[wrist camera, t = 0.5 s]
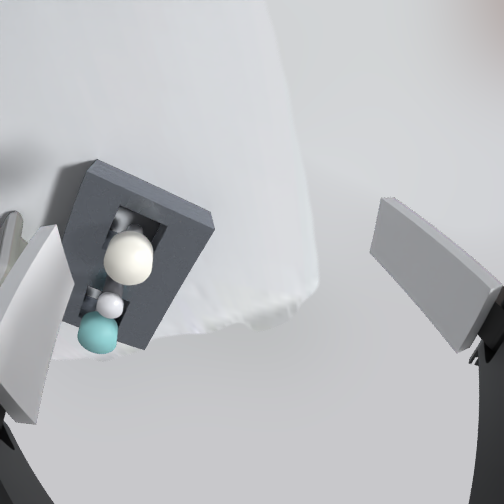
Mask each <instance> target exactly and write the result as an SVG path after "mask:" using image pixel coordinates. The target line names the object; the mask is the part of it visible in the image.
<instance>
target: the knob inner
mask: <svg viewBox="0 0 504 504" xmlns="http://www.w3.org/2000/svg"><path fill="white" fill-rule="evenodd" d="M152 262H153V247H152V244H151V242H150V241H149V240H148V239H147V238H146V237H145V236H144V235H143V229H142V227H141V226H140V225H138V224H132V225H130V226H129V227H128V228H127V231H123V232H120V233H118V234H116V235H115V236H114V237H113V238H112V239H111V240H110V242H109V245H108V248H107V251H106V254H105V257H104V268H105V270H106V272H107V274H108V275H109V277H110V278H112V279H113V280H114V281H116V282H118V283H120V284H123V285H136V284H139V283H142V282H143V281H145V280H146V279H147V278H148V277H149V275H150V273H151V270H152Z"/></svg>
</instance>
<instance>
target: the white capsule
mask: <svg viewBox="0 0 504 504" xmlns="http://www.w3.org/2000/svg"><path fill="white" fill-rule="evenodd" d="M123 289H124V285H123V284H120V283H118V282H116V281H114V280H113V279H112V278H110V277H109V275H108V274H107V277H106V281H105V284H104V288H103V292H102V294H101V295H100V296H99V298H98V301H97V305H96V308H97V311H98V312H99V313H100V314H101V315H102V316H103V317H106V318H109V319H114V318H117V317H119V316H120V315H121V314H122V311H123V305H124V303H123V300H122V295H123Z"/></svg>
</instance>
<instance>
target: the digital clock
mask: <svg viewBox="0 0 504 504" xmlns="http://www.w3.org/2000/svg"><path fill="white" fill-rule="evenodd" d="M22 227H23V219H22V216H21V215H20V213H19V212H17V211H16V212H13V213H10V214H9V215H8V216H7V218H6V220H5V221H4V223H3V225H2V227H1V229H0V287H1V285H2V283H3V282H4V280H5V278H6V277H7V275H8V273H9V272H10V270H11V269H12V267H13V266H14V264H15V262H16V261H17V259H18V258H19V256H20V255H21V253H22V252H23V250H24V249H25V247H26V246H27V245H28V243H27V242H26V241H25V240H24V239H23V238H22V237H21V233H22Z"/></svg>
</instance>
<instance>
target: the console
mask: <svg viewBox="0 0 504 504" xmlns="http://www.w3.org/2000/svg"><path fill="white" fill-rule="evenodd" d="M120 205H121V206H123V207H125V208H127V209H130V210H132V211H134V212H136V213H139V214H141V215H143V216H145V217H148V218H150V219H152V220H154V221H157V222H159V223H161V225H160V227H159V229H158V230H157V232H156V234H155V236H154V238H153V240H152V242H151V244H152V247H153V262H152V270H151V273H150V275H149V277H148V278H147V279H146V280H145V281H143V282H142V283H139V284H136V285H124V289H123V295H122V299H124V302H123V303H124V305H123V311H122V314H121V315H120V316H119V317H117V318H114V320H115V321H116V323H117V325H118V335H117V341H118V342H121V343H124V344H127V345H130V346H133V347H136V348H140V349H143V350H145V348H146V347H147V345H148V343H149V341H150V339H151V338H152V336H153V334H154V332H155V331H156V329H157V327H158V325H159V323H160V322H161V320H162V318H163V316H164V315H165V313H166V311H167V309H168V308H169V306H170V304H171V302H172V301H173V299H174V297H175V296H176V294H177V292H178V290H179V289H180V287H181V285H182V284H183V282H184V280H185V278H186V277H187V275H188V273H189V272H190V270H191V268H192V267H193V265H194V263H195V262H196V260H197V258H198V257H199V255H200V253H201V252H202V250H203V248H204V247H205V245H206V243H207V242H208V240H209V238H210V237H211V235H212V234H213V232H214V230H215V228H214V224H213V220H212V216H211V212H209V211H207V210H205V209H203V208H201V207H199V206H197V205H195V204H193V203H191V202H188V201H186V200H184V199H182V198H180V197H178V196H176V195H174V194H171V193H169V192H167V191H165V190H163V189H161V188H159V187H156V186H154V185H152V184H150V183H148V182H146V181H144V180H141V179H139V178H137V177H135V176H133V175H131V174H128V173H126V172H124V171H122V170H120V169H118V168H115V167H113V166H111V165H109V164H107V163H104V162H102V161H100V160H98V159H97V160H96V161H95V162H94V163H93V164H92V165H91V167H90V168H89V169H88V170H87V171H86V173H85V176H84V178H83V181H82V184H81V186H80V189H79V192H78V194H77V197H76V200H75V203H74V206H73V208H72V211H71V214H70V217H69V220H68V223H67V227H66V230H65V233H64V236H63V240H62V246H63V249H64V253H65V256H66V259H67V263H68V266H69V269H70V272H71V275H72V278H73V281H74V287H73V290H72V292H71V295H70V298H69V301H68V304H67V307H66V310H65V313H64V316H63V319H62V321H64V322H66V323H69V324H71V325H74V326H77V327H80V323H81V320H82V317H83V316H84V315H85V314H87V313H89V312H93V311H95V310H96V305H97V301H98V300H97V299H95V298H92V297H90V296H87V295H85V294H86V291H87V288H88V286H90V287H93V288H95V289H98V290H100V291H103V288H104V284H105V281H106V277H107V272H106V270H105V268H104V257H105V254H106V251H107V248H108V245H109V242H110V240H111V239H112V238H113V237H114V236H115V235H116V234H118V233H117V232H115V231H112V230H110V227H111V224H112V222H113V219H114V217H115V215H116V212H117V210H118V208H119V206H120Z"/></svg>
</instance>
